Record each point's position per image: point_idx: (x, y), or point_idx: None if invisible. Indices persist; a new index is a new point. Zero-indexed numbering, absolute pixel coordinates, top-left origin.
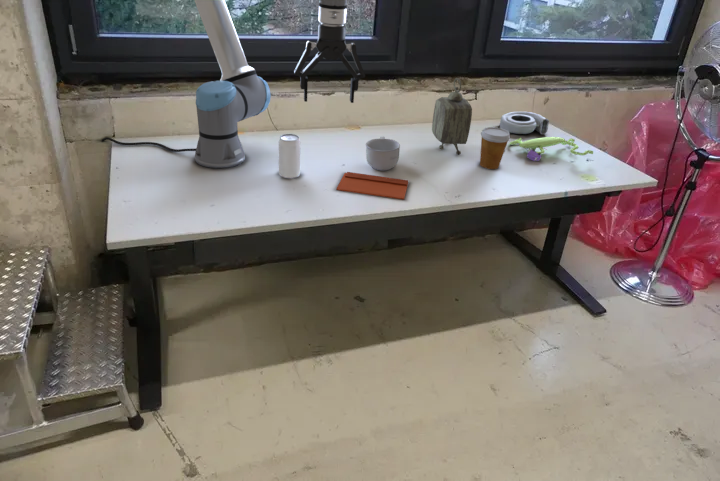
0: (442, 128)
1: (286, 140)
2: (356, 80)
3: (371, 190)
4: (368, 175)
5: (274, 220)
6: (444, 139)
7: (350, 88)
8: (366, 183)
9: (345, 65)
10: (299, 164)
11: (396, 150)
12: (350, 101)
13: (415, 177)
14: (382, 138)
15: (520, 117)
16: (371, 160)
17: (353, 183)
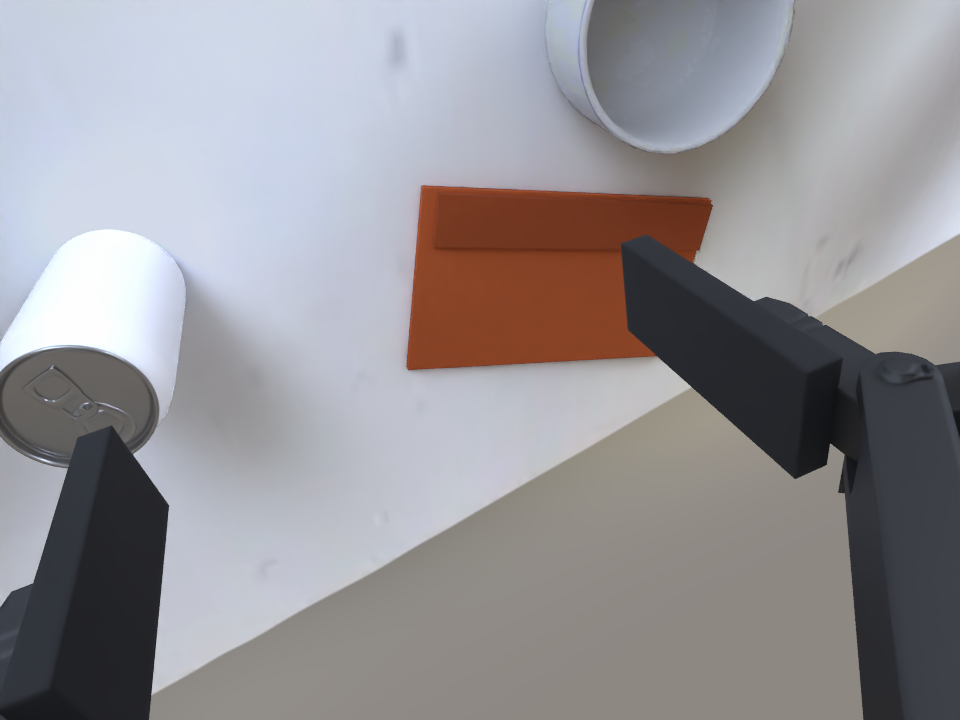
0: None
1: None
2: (843, 483)
3: (552, 336)
4: (545, 208)
5: (241, 627)
6: None
7: (702, 304)
8: (533, 279)
9: (870, 718)
10: (182, 322)
11: (748, 99)
12: (626, 302)
13: (751, 122)
14: None
15: None
16: (580, 111)
17: (476, 298)
